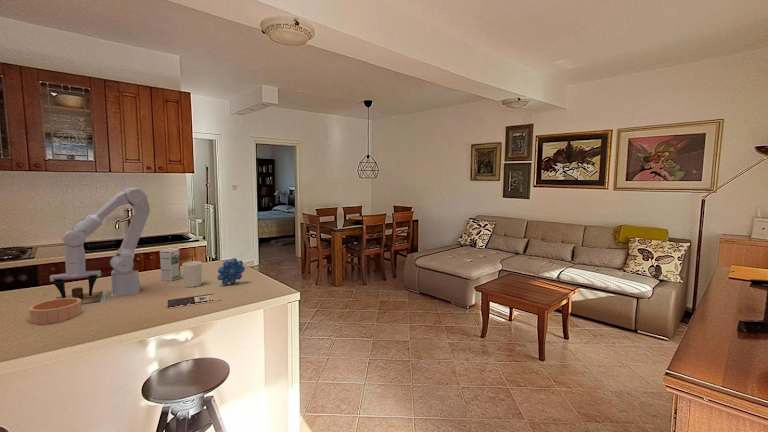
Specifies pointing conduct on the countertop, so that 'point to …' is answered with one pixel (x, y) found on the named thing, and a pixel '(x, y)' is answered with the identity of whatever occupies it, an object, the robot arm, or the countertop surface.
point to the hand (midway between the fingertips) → (77, 296)
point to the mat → (98, 302)
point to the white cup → (192, 273)
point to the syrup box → (170, 264)
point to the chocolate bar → (188, 300)
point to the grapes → (231, 271)
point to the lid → (85, 296)
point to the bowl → (55, 310)
